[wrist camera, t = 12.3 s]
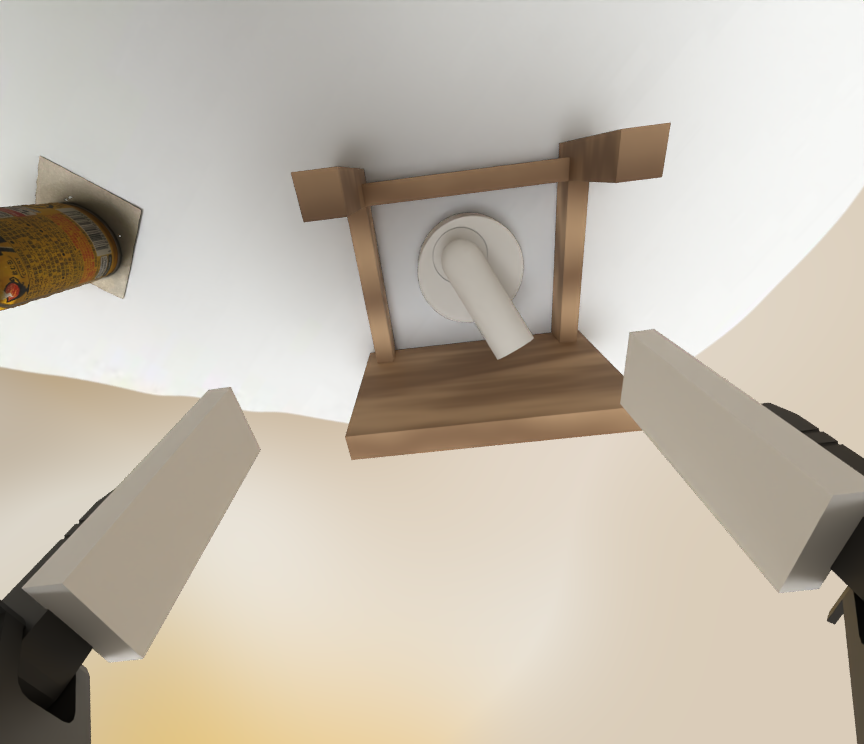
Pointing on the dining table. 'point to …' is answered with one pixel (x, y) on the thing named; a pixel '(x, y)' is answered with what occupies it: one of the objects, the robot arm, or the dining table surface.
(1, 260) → the condiment
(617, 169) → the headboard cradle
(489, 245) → the wall hook
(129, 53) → the dining table surface
